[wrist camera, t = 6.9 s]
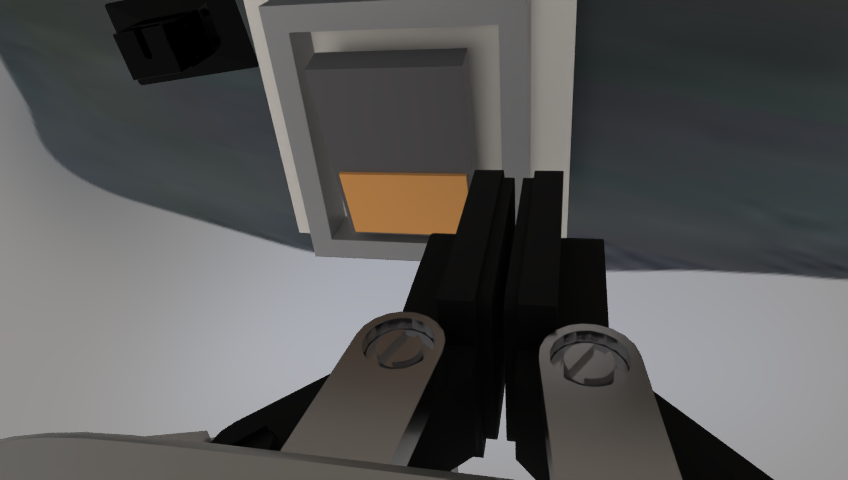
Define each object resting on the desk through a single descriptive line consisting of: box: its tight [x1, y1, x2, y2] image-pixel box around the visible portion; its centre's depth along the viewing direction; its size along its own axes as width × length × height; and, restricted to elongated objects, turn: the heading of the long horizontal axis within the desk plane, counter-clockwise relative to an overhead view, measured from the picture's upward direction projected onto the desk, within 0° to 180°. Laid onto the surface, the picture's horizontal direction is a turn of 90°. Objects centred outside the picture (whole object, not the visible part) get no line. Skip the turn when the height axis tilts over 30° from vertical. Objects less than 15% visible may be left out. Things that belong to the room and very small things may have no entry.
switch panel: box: [244, 0, 577, 261], centre depth 34 cm, size 16×14×10 cm
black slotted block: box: [105, 0, 259, 85], centre depth 40 cm, size 12×7×5 cm, turn 102°
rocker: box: [304, 48, 478, 236], centre depth 30 cm, size 7×10×2 cm
